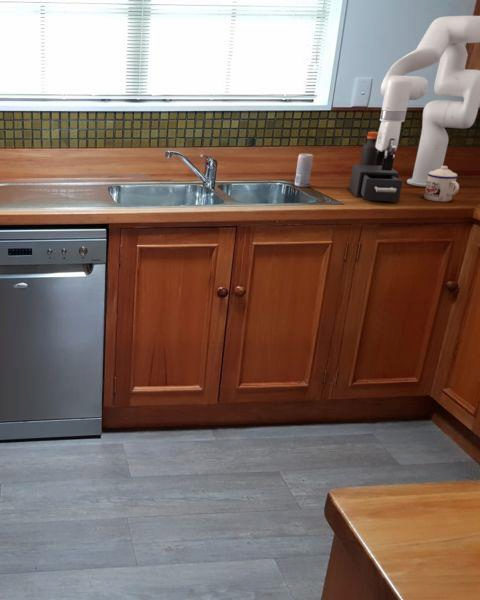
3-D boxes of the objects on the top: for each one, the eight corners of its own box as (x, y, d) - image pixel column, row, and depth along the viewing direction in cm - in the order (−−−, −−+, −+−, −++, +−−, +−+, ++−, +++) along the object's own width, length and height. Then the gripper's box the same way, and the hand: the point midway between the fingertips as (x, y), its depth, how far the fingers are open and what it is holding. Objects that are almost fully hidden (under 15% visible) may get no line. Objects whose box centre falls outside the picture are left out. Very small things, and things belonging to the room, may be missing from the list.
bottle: (353, 185, 237) (362, 132, 230) (359, 182, 242) (368, 130, 235) (371, 187, 233) (381, 134, 226) (377, 184, 238) (387, 132, 230)
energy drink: (307, 184, 238) (311, 153, 234) (310, 187, 233) (315, 155, 229) (293, 184, 239) (297, 153, 234) (296, 187, 234) (300, 155, 229)
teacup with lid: (416, 197, 218) (423, 164, 214) (437, 195, 221) (444, 163, 216) (443, 204, 208) (451, 170, 203) (464, 203, 210) (473, 169, 206)
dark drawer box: (393, 198, 216) (399, 173, 213) (356, 197, 219) (360, 171, 215) (384, 190, 229) (389, 165, 226) (348, 188, 232) (352, 164, 228)
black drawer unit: (402, 204, 204) (406, 183, 201) (365, 203, 206) (369, 181, 203) (389, 193, 220) (393, 173, 217) (355, 191, 223) (359, 171, 220)
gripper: (375, 113, 212) (366, 163, 219) (386, 118, 196) (376, 171, 203) (398, 114, 211) (388, 163, 217) (412, 119, 195) (401, 172, 202)
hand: (383, 167), depth 210 cm, fingers open, 9 cm apart
